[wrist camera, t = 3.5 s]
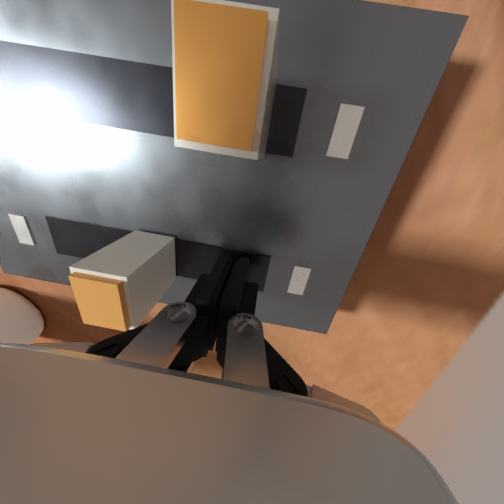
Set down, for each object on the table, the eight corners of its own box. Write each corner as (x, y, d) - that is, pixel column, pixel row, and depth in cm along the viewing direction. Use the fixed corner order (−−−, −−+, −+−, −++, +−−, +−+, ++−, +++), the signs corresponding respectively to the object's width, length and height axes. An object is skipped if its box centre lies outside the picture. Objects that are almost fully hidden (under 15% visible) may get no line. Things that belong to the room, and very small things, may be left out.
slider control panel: (-52, -17, 10) (-727, -369, 3) (415, 53, 10) (771, -199, 3) (45, 254, 18) (-106, 321, 11) (318, 305, 17) (348, 411, 10)
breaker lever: (135, 230, 12) (61, 270, 8) (174, 237, 12) (121, 281, 8) (140, 272, 13) (80, 325, 9) (175, 279, 13) (130, 335, 9)
